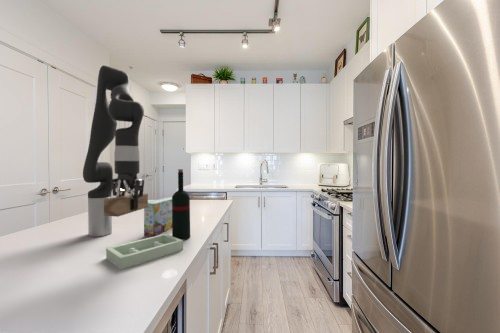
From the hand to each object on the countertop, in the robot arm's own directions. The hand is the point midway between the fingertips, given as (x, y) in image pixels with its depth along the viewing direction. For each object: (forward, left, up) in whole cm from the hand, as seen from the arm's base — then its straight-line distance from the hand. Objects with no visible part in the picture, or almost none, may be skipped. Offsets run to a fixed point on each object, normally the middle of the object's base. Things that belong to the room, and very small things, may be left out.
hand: (127, 209), depth 81 cm
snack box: (-24, +25, -18) cm, 39 cm away
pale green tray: (0, +6, -17) cm, 18 cm away
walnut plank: (0, 0, -1) cm, 1 cm away
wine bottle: (-8, +25, -17) cm, 32 cm away
